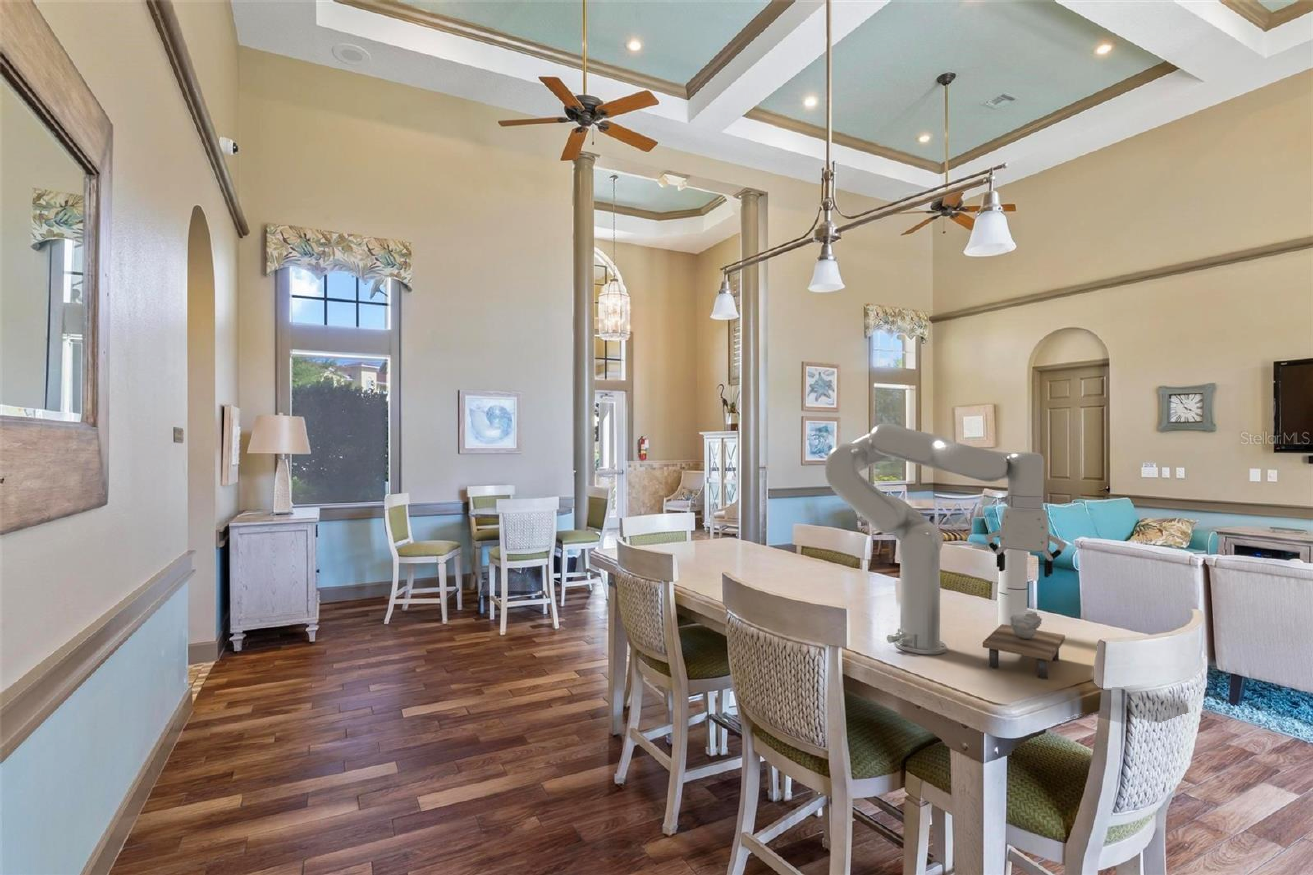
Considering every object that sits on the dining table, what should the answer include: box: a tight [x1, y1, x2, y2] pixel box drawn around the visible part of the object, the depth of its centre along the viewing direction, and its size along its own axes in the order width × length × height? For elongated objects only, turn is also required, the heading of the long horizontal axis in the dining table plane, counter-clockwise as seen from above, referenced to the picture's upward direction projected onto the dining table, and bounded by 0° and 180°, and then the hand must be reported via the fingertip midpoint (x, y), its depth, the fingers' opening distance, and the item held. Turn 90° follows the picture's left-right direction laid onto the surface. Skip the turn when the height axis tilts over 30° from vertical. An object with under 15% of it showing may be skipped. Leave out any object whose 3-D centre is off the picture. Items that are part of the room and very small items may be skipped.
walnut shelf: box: [982, 624, 1066, 680], centre depth 154 cm, size 20×14×6 cm
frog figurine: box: [1010, 609, 1043, 639], centre depth 154 cm, size 6×7×7 cm
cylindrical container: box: [997, 541, 1029, 628], centre depth 180 cm, size 7×7×25 cm
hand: (1024, 573), depth 154 cm, fingers open, 9 cm apart
